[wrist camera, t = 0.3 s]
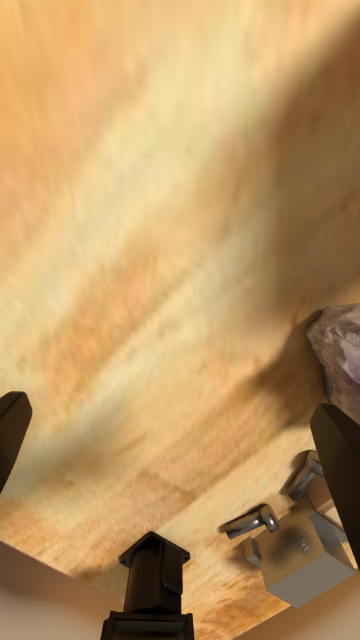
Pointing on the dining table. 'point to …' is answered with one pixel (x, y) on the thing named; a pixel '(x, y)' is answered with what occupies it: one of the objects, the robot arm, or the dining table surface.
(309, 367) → the dining table surface
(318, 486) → the stand
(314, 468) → the bolt
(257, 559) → the block
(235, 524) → the bolt
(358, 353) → the geode
